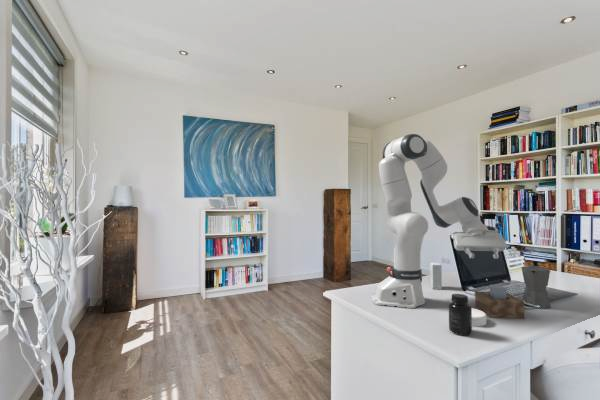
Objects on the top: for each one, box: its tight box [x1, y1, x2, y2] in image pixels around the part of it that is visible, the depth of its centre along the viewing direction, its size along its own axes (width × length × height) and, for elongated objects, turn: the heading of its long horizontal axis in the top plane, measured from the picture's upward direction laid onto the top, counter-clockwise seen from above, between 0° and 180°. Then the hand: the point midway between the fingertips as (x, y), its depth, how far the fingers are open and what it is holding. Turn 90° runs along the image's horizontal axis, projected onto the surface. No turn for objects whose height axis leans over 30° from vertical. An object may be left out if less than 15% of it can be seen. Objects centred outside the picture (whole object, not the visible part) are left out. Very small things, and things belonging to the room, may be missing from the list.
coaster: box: [471, 307, 488, 327], centre depth 110 cm, size 10×10×4 cm
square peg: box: [489, 284, 507, 299], centre depth 118 cm, size 4×4×9 cm
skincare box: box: [429, 262, 443, 290], centre depth 152 cm, size 6×4×12 cm
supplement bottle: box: [448, 293, 473, 336], centre depth 101 cm, size 7×7×12 cm
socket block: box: [474, 291, 526, 319], centre depth 118 cm, size 12×12×6 cm
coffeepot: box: [521, 260, 552, 310], centre depth 126 cm, size 15×9×18 cm, turn 136°
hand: (484, 257), depth 129 cm, fingers open, 8 cm apart
